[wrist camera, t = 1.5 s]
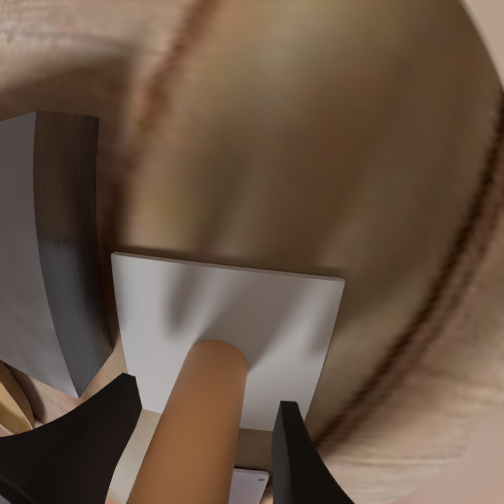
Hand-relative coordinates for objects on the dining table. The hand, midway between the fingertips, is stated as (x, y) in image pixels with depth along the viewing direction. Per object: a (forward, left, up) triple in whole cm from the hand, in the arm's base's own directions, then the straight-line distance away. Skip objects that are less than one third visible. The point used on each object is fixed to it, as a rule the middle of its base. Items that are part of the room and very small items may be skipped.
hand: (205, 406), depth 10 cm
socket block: (+5, +12, -3) cm, 13 cm away
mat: (0, 0, -3) cm, 3 cm away
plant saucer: (-11, +24, -4) cm, 27 cm away
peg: (0, 0, -3) cm, 3 cm away
